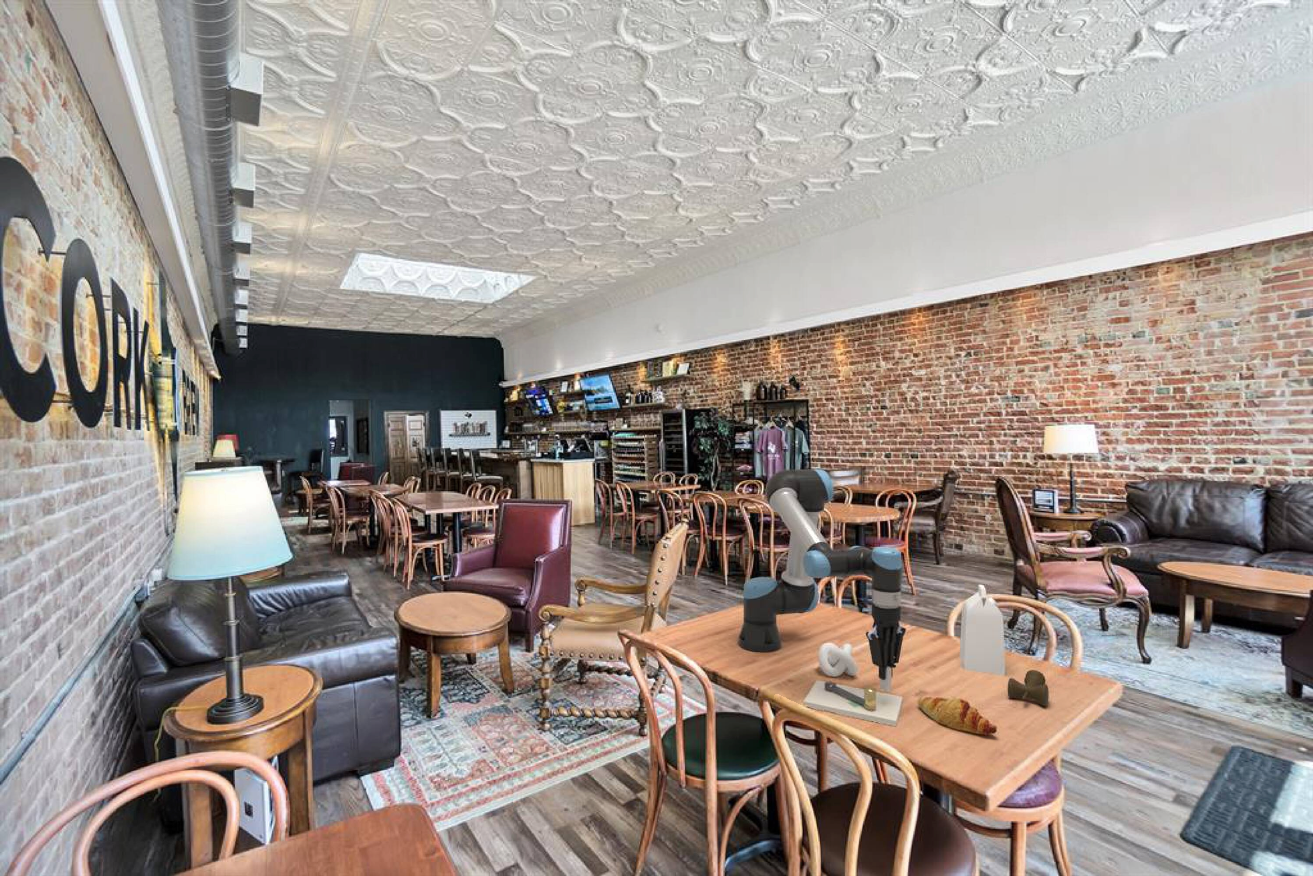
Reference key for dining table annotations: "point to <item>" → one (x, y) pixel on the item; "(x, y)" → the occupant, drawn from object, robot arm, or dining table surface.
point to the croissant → (956, 715)
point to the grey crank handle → (867, 702)
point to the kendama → (1030, 688)
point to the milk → (982, 635)
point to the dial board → (855, 704)
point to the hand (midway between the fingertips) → (885, 689)
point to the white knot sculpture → (837, 660)
